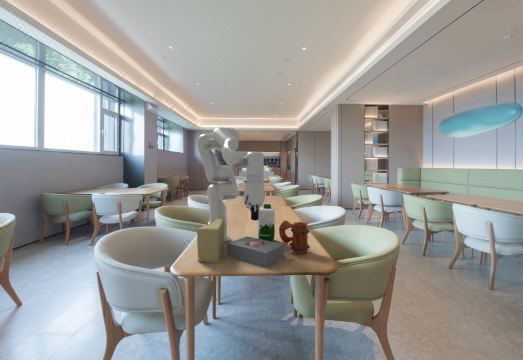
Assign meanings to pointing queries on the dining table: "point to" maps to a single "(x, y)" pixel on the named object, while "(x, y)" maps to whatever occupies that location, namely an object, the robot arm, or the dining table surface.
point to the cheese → (210, 241)
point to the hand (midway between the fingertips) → (254, 219)
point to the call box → (256, 251)
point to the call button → (255, 243)
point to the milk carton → (266, 223)
